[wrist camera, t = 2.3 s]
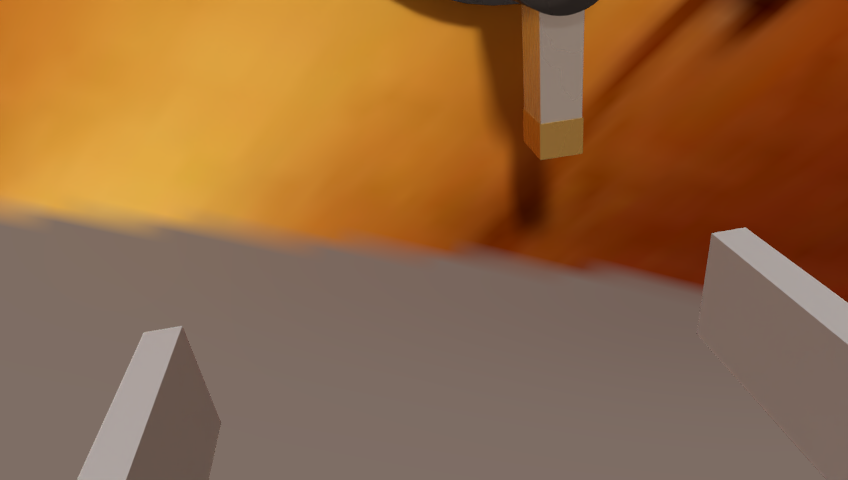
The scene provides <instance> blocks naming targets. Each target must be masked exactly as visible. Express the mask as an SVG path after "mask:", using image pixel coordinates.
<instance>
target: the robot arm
mask: <svg viewBox="0 0 848 480" xmlns="http://www.w3.org/2000/svg"><path fill="white" fill-rule="evenodd" d="M697 335H698V336H699V337H700V338H701V339H702V341H703V342H704V343H705V344H706V345H707V346H708V347H709V348H710V350H712V352H713V353H714V354H715V355H716V356H717V357H718V359H719V360H720V361H721V362H722V363H723V364H724V365H725V366H726V367H727V369H728V370H729V371H730V372H731V373H732V374H733V375H734V376H735V378H736V379H737V380H738V381H739V382H740V383H741V384H742V385H743V387H744V388H745V389H746V390H747V391H748V392H749V393H750V394H751V395H752V397H753V398H754V399H755V400H756V401H757V402H758V403H759V405H760V406H761V407H762V408H763V409H764V410H765V411H766V412H767V413H768V415H769V416H770V417H771V418H772V419H773V420H774V421H775V423H776V424H777V425H778V426H779V427H780V428H781V429H782V430H783V432H784V433H785V434H786V435H787V436H788V437H789V438H790V439H791V441H792V442H793V443H794V444H795V445H796V446H797V447H798V448H799V450H800V451H801V452H802V453H803V454H804V455H805V456H806V457H807V459H809V461H810V462H811V463H812V464H813V465H814V466H815V468H817V470H818V471H819V472H820V473H821V474H822V475H823V476H824V478H825V479H826V480H848V303H847V302H846V301H844V300H843V299H842V298H840V297H839V296H838V295H836V294H835V293H834V292H832V291H831V290H830V289H828V288H827V287H825V286H824V285H823V284H821V283H820V282H819V281H817V280H816V279H815V278H813V277H812V276H811V275H809V274H808V273H806V272H805V271H804V270H802V269H801V268H800V267H798V266H797V265H796V264H794V263H793V262H792V261H790V260H789V259H787V258H786V257H785V256H783V255H782V254H781V253H779V252H778V251H777V250H775V249H774V248H772V247H771V246H770V245H768V244H767V243H766V242H764V241H763V240H762V239H760V238H759V237H758V236H756V235H755V234H753V233H752V232H751V231H749V230H748V229H747V228H740V229H734V230H728V231H723V232H717V233H712V235H711V241H710V248H709V255H708V261H707V268H706V275H705V281H704V288H703V295H702V301H701V308H700V315H699V321H698V328H697ZM220 425H221V421H220V419H219V417H218V414H217V411H216V409H215V406H214V404H213V401H212V399H211V396H210V394H209V391H208V389H207V387H206V384H205V381H204V379H203V376H202V374H201V371H200V369H199V366H198V364H197V361H196V359H195V356H194V354H193V351H192V349H191V346H190V344H189V341H188V339H187V337H186V334H185V331H184V329H183V326H179V327H172V328H167V329H161V330H155V331H149V332H144V333H143V335H142V338H141V340H140V342H139V344H138V346H137V349H136V351H135V353H134V355H133V357H132V360H131V362H130V364H129V366H128V368H127V371H126V373H125V375H124V377H123V379H122V382H121V384H120V386H119V388H118V390H117V393H116V395H115V397H114V399H113V402H112V404H111V406H110V408H109V410H108V412H107V415H106V417H105V419H104V422H103V424H102V426H101V428H100V430H99V432H98V435H97V437H96V439H95V441H94V443H93V446H92V448H91V450H90V452H89V454H88V457H87V459H86V461H85V463H84V465H83V468H82V470H81V472H80V475H79V476H78V479H77V480H209V475H210V471H211V466H212V462H213V456H214V452H215V448H216V443H217V438H218V434H219V429H220Z"/></svg>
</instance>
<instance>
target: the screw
mask: <svg viewBox="0 0 848 480" xmlns="http://www.w3.org/2000/svg"><path fill="white" fill-rule="evenodd" d="M513 1H516V2H518V3H520V4H522V43H523V82H524V108H523V134H524V142H525V143H526V144H527V146H528V147H529V148H530V149H531V150H532V151H533V152H534V154H535V155H536V156H537V157H538V158H539V159H540V160H544V159H550V158H557V157H563V156H569V155H576V154H582V153H583V117H582V90H583V49H584V10H585V9H587V8H589V7H590V6H592V5H593V4H595V3H596V2H597V1H598V0H513Z"/></svg>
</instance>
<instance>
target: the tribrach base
mask: <svg viewBox="0 0 848 480" xmlns="http://www.w3.org/2000/svg"><path fill="white" fill-rule="evenodd" d="M453 1H458V2H462V3H467V4H481V5H507V4H520V3H518V2H516V1H513V0H453Z"/></svg>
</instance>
